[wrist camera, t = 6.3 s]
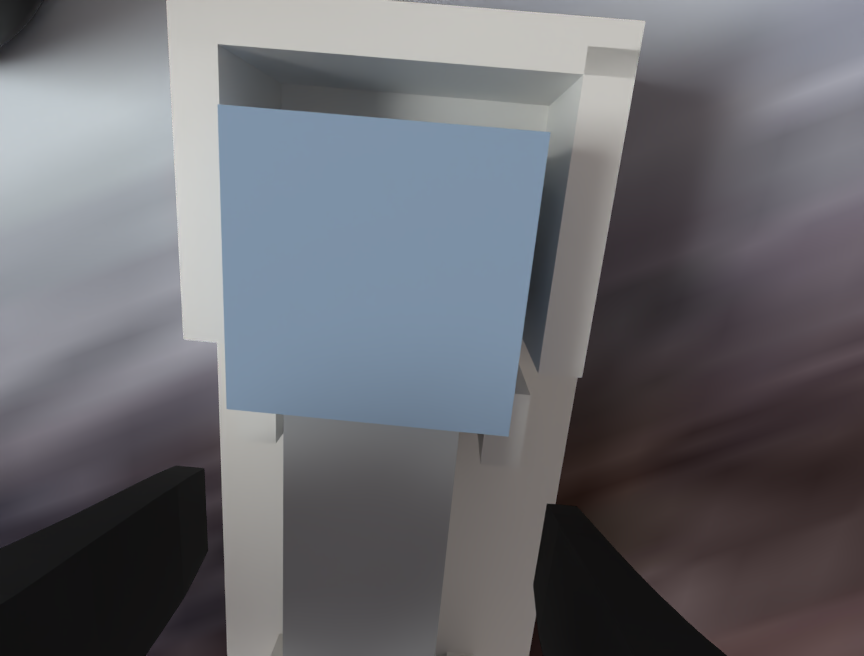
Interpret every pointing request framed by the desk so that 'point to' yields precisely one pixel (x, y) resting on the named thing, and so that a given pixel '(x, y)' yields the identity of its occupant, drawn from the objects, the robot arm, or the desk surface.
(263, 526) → the slider rail
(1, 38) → the supplement bottle
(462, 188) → the blue-capped grey bar
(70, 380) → the desk surface
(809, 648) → the desk surface
